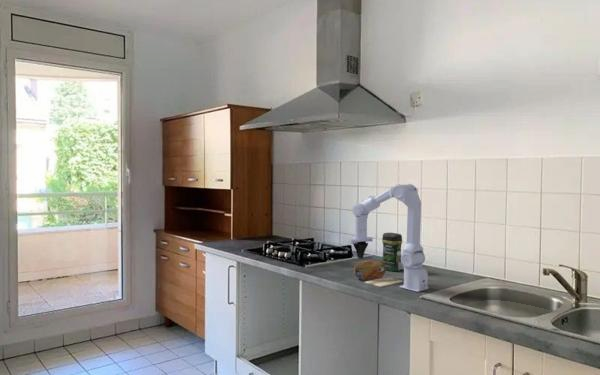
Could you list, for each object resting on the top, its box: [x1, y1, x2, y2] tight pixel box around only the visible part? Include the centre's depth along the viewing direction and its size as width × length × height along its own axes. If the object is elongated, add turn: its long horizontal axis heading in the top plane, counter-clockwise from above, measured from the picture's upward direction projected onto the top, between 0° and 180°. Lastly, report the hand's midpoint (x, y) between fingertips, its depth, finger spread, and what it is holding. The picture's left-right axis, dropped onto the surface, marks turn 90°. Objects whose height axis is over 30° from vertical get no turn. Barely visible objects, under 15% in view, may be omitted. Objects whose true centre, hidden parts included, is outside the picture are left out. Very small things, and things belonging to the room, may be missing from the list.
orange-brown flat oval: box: [353, 259, 386, 281], centre depth 200 cm, size 15×3×8 cm, turn 107°
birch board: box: [364, 276, 404, 288], centre depth 193 cm, size 10×15×1 cm, turn 129°
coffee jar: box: [381, 232, 403, 272], centre depth 218 cm, size 10×8×19 cm
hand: (360, 258), depth 204 cm, fingers closed
